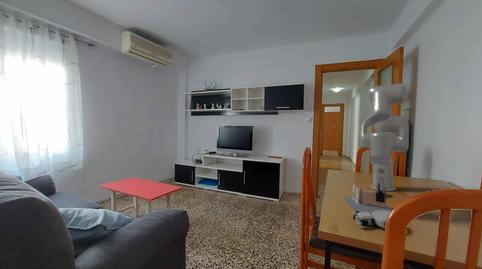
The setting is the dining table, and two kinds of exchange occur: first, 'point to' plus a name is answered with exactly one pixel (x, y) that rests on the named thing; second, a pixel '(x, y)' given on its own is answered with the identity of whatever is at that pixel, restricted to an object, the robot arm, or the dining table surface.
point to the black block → (386, 194)
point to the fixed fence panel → (357, 194)
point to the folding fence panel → (371, 198)
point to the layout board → (364, 206)
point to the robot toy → (371, 217)
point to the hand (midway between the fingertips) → (380, 201)
